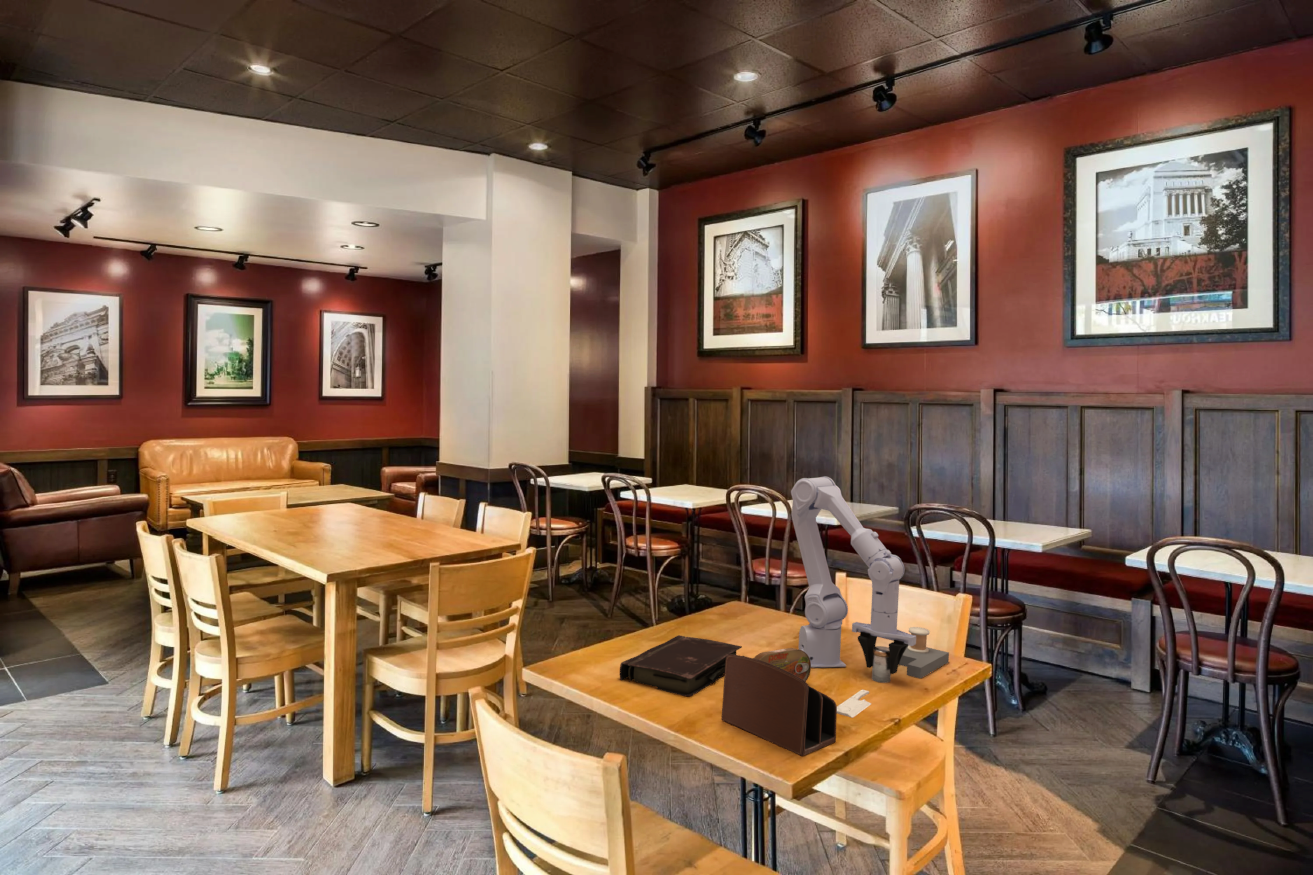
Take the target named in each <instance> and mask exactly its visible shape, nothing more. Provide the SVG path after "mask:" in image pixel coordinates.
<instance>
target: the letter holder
mask: <svg viewBox="0 0 1313 875" xmlns="http://www.w3.org/2000/svg"><path fill="white" fill-rule="evenodd" d="M724 675H725V676H723V677H724V679H723V691H722V692H723V693H722V708H721V721H723V722H725V723H727V724H730V725H732V726H734V727H736V728H738V729H741V730H742V731H745V732H748V733H750V734H752V735H753V736H757V737H759V738H761V739H763V740H765V741H768V742H769V743H772V744H773V745H776V746H779V747H781V748H782V749H785V750H788V751H790V752H792V753H793V754H796V755H798V756H801V757H804V756H806V755H808V754H811V753H813V752H816V751H818V750H820V749H823V748H824V747H827V746H830V745H832V744H834V743H835V742H836V741H837V740H836V739H837V706H838V705H837V703H836V701H835V700H834V699H832V697H830V696H828V695H827V694H825V693H823V692H821V691H819V690H817V689H815V688H814V687H812V686H810V685H808V683H807V681H806V682H805V681H804V680H803V679H801V678H799V677H797V676H796V675H794V674H792V673H790V672H788V671H786V670H783V669H781V668H779V667H777V666H774V665H772V664H769V663H767V662H764V661H761V660H758V659H754V657H748V656H744V655H739V654H736V655H734V654H730V655H728V656H727V657H726V664H725V674H724Z"/></svg>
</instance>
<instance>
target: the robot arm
mask: <svg viewBox="0 0 1313 875" xmlns="http://www.w3.org/2000/svg"><path fill="white" fill-rule="evenodd" d="M790 495H791V498H792V507H791V515H790V516H791V520H792V523H793V527H794V531H795V536H796V540H797V543H798V548H799V551H800V556H801V560H802V563H803V564H802V565H803V567H804V571H805V575H806V580H807V583H808V589H807V592H806V593H805V595H804V601H805V608H804V615H805V618H806V620H807V622H808V623H809V624H806V625H801V626H800V629H799V633H798V650H802V651H804V652H805V653H806V654H807V655H808V656H809V659H810V662H811V668H846V667H847V664H846V663H845V662H844V661H842V660H841V644H842V641H841V640H842V626H843V620H844V619H846V617H847V616H848V614H849V607H848V603H847V600H845V598H844V597H843V595H842V593H841V589H840V588H839V587H838V586H837V585H836V584H834V583H833V580H832V577H831V574H830V569H829V565H828V561H827V557H826V553H825V550H824V545H823V541H822V538H821V534H820V530H819V526H818V524H817V517H818V515H819V514H820V512H821V511H822V510H825V511H828V512H830V514H831V515H832V516H833V517H834V518H835V519H836V520H837V522H838V523H839V524H840V525H841V526H842V527H843V529H844V530H845V531H846V532H847V533H848V534H849V535H850V546H852V548H853V549H854V550H855V552H856V553H857V554H858V555H859V557H860V558H861V559H862V561H863V562H864V564H865V565H866V566H867V567H868V569H867V574H868V577H869V579H870V581H871V588H872V589H871V610H870V611H871V612H870V623H864V622H858V621H855V622H853V623H851V625H852V626H851V632H852V633H860V634H859V635H858V636H857V641H858V643H859V645H860V648H861V650H862V652H863V656H864V660H865V661H864V662H865V665H866V669H870V668H872V666H873V648H874V647H876V645H877V638H880V639H884V640H889V641H892V642H890V643H888V647H889V650H890V674H891V675H895V674H896V673H897V672H898V669H899V666H900V665H899V663H900V660H901V657H902V655H903V653H904V652H905V650H906V648H907V647H908V645H909V646H914V645H915V644H916V636H915V635H911V633H908V632H906V631H902V630H899V629H898V611H899V596H900V594H899V593H900V592H899V591H900V580H901V579H902V578H903V577H904V574H905V570H906V569H905V565H904V563H903V561H902V558H900V557H899V556H898V555H896V554H892V552H891V551H890V550H889V549H887V548H886V546H885V545H884V544H883V542H882V541H881V540H880V539H879V536H880V535H879V534H878V532H876V531H873V530H872V529H871V528H865V527H864V526H863V525H862V523H861V522H860V520H859V518H857V516H856V515H855V513H854V511H853V510H852V509H851V507H850V506H849V504H848V503H847V501H846V500H845V499H844V497H843V495H842V490H841V489H840V488H839V486H837V485H836V483H835V481H834V480H833V479H832V478H831V477H829V476H825V475H824V476H820V477H811V478H810V477H808V478H807V477H803V478H800V479H798V480H797V481H796V482H795V484H794V485H793V487H792V488H791V490H790Z"/></svg>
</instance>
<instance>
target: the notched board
mask: <svg viewBox="0 0 1313 875" xmlns="http://www.w3.org/2000/svg"><path fill="white" fill-rule="evenodd" d="M908 632H909V634H911V635H915V636H916V644H915V645H914V646H909V645H908V647H907V648H906V650H905V652H904V653H903V655H902V657H901V660H900V663H899V666H902V667H906V676H909V677H914V678H917V679H920V678H921V679H922V678H924V677H926V676H927V675H930V674H931V673H933V672H934V670H935V671H936V669H937V668H938V669H940V668H941V666H942V667H943V665H944V664H945V665H948V664H949V663H950V662H949V660H950V659H949V658H950V652H948V651H944V650H940V649H937V648H932V647H928V646H927V639H928V635H930V632H931V631H930V630H929V629H927V628H925V627H921V626H912V627H911V626H910V627H908ZM887 647H888V648H889V646H887ZM945 665H944V666H945ZM938 669H937V670H938ZM932 671H933V672H932ZM930 672H931V673H930Z"/></svg>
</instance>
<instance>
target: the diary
mask: <svg viewBox="0 0 1313 875" xmlns="http://www.w3.org/2000/svg"><path fill="white" fill-rule="evenodd" d="M742 648H743V646H742V645H738V644H732V643H728V642H723V641H718V640H712V639H707V638H700V637H698V638H697V637H691V636H685V635H679V634H678V635H676V636H674V637H672V638H670V639H669V640H667V641H665V642H663V643H661V644H660V643H659V644H658V645H656V646H654V647H651V648H649V649H647V650H645V651H644V652H641V653H640V654H638V655H635V656H633V657H632V658H628V659H627V660H623V661H621V662H620V664H619V680H620V681H624V680H625V679H629V680H628V682H629V683H630V682H632V681H634V682H635V683H639V684H643V685H645V686H646V685H647V686H649V687H653V688H655V689H656V690H659V691H662V692H666V693H671V694H674V695H678V696H683V697H693V696H694V695H696V694H698V693H699V692H701V691H703V690H704V689H706V688H708V686H711V685H712V684H714V683H715V682H716V681H718V680H720V679H722V678H723V677H725V664H726V657H727V656H728V655H730V654H734V655H737V651H738V650H740V649H742Z"/></svg>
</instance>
